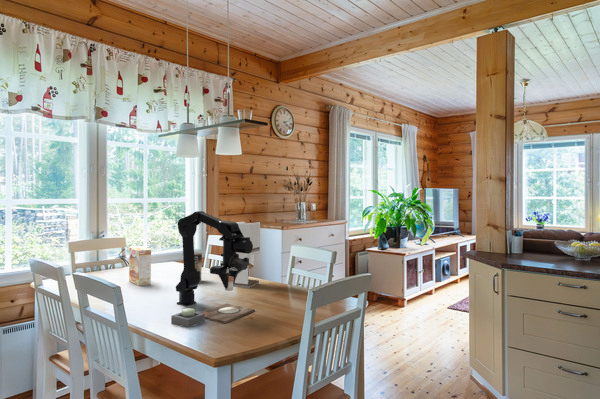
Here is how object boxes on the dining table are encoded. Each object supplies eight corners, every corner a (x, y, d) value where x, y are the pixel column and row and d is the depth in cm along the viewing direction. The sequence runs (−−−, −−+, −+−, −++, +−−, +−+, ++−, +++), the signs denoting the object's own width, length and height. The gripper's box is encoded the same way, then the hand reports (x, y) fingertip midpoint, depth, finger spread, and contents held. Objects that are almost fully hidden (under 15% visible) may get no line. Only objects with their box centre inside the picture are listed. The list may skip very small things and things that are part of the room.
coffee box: (184, 283, 228) (185, 254, 228) (185, 280, 235) (185, 252, 234) (201, 282, 231) (202, 254, 230) (201, 279, 237) (201, 252, 237)
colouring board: (195, 316, 169) (195, 314, 169) (226, 305, 186) (226, 303, 186) (225, 323, 161) (225, 320, 161) (254, 311, 178) (254, 308, 178)
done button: (178, 315, 160) (178, 310, 160) (188, 312, 164) (188, 307, 164) (188, 317, 158) (188, 312, 158) (197, 314, 162) (197, 309, 162)
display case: (249, 288, 219) (250, 223, 219) (232, 286, 223) (233, 222, 223) (258, 284, 230) (260, 222, 229) (242, 282, 234) (243, 221, 233)
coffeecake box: (128, 281, 230) (129, 246, 230) (141, 279, 235) (141, 245, 235) (138, 286, 219) (138, 250, 219) (151, 284, 224) (151, 249, 223)
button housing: (171, 323, 159) (171, 315, 159) (188, 317, 167) (188, 310, 167) (188, 327, 155) (188, 319, 155) (204, 321, 163) (204, 313, 163)
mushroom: (222, 290, 174) (223, 277, 174) (228, 288, 177) (228, 275, 177) (229, 291, 172) (229, 278, 172) (235, 289, 176) (235, 276, 175)
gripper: (230, 256, 162) (229, 294, 163) (257, 250, 179) (256, 285, 179) (209, 253, 168) (208, 290, 168) (237, 248, 184) (237, 282, 184)
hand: (229, 287), depth 175 cm, fingers closed on mushroom, 3 cm apart
